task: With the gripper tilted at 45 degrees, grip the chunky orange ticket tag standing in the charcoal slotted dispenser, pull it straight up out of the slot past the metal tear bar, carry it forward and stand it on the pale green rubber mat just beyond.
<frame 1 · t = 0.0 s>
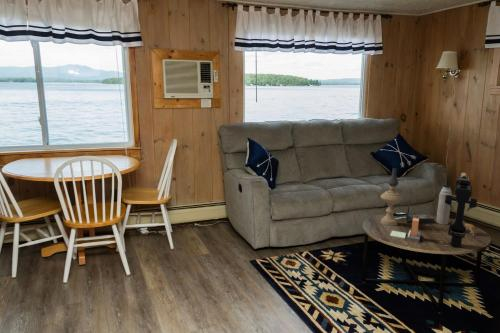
hand: (459, 209, 259), 15 cm above the table, tool tilted 35°, fingers open, 9 cm apart
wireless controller: (416, 221, 280), on the table
wooden candle holder: (389, 223, 273), on the table
dispenser: (413, 237, 246), on the table
mat: (398, 234, 250), on the table
thermos bottle: (442, 222, 276), on the table
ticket: (413, 237, 246), resting in dispenser
lion figurine: (464, 232, 258), on the table
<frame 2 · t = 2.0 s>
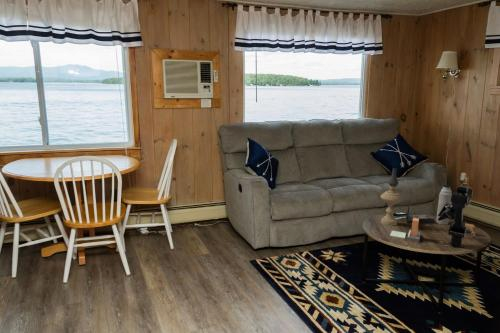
hand: (438, 218, 247), 13 cm above the table, tool tilted 45°, fingers open, 9 cm apart
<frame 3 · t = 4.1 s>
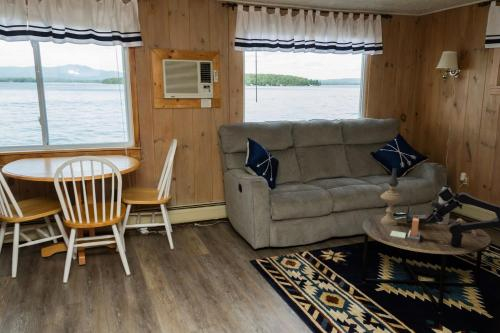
hand: (427, 220, 240), 13 cm above the table, tool tilted 45°, fingers open, 9 cm apart
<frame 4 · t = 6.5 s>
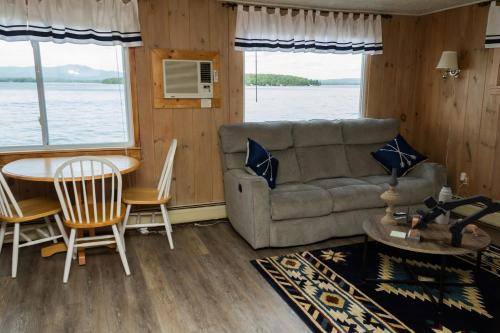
hand: (412, 227, 245), 7 cm above the table, tool tilted 45°, fingers closed on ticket, 5 cm apart
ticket: (413, 237, 246), resting in dispenser, touching gripper
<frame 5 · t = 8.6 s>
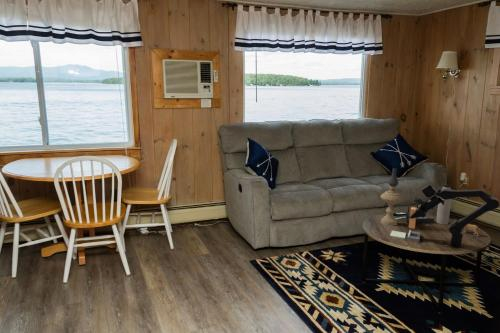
hand: (410, 216, 244), 14 cm above the table, tool tilted 45°, fingers closed on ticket, 5 cm apart
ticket: (411, 226, 245), point 7 cm above the table, touching gripper
when the fingers open (8 cm above the table, at t = 11.1 s): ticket stays where it is, resting on mat.
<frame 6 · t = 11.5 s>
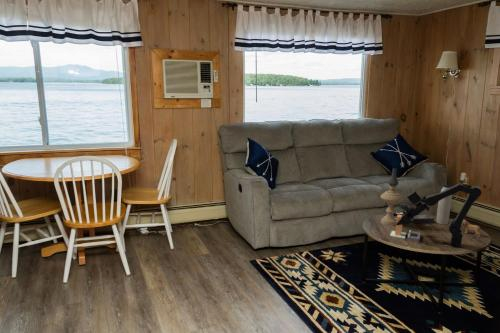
hand: (397, 222, 249), 8 cm above the table, tool tilted 45°, fingers open, 9 cm apart
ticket: (398, 234, 250), point 1 cm above the table, touching mat
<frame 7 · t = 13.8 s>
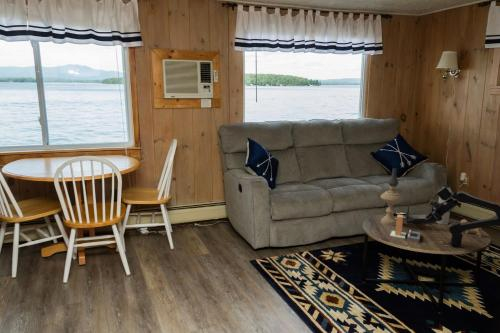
hand: (426, 220, 241), 13 cm above the table, tool tilted 45°, fingers open, 9 cm apart
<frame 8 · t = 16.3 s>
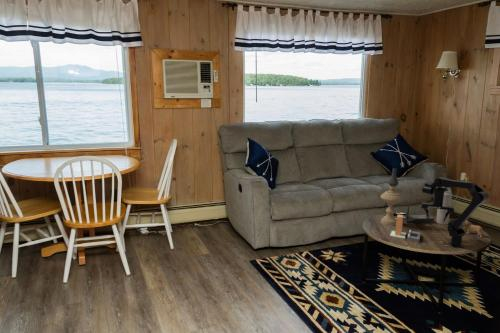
hand: (435, 220, 245), 12 cm above the table, tool pointing down, fingers open, 9 cm apart
at the end: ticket inside the target area on the mat (0.0 cm from its centre), point 0.6 cm above the mat's base; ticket tilted 0°; the gripper is holding nothing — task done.
